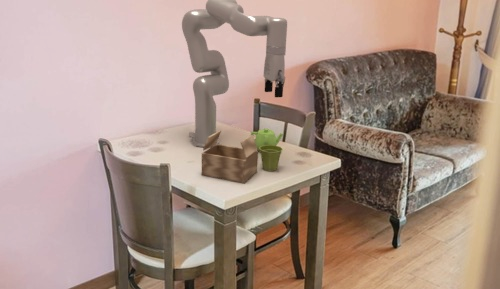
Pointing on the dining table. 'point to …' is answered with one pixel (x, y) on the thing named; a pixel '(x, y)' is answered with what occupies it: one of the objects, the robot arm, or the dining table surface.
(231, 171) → the carton
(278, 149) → the plant pot
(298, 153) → the dining table surface
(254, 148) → the flap
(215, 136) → the flap
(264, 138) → the teapot
